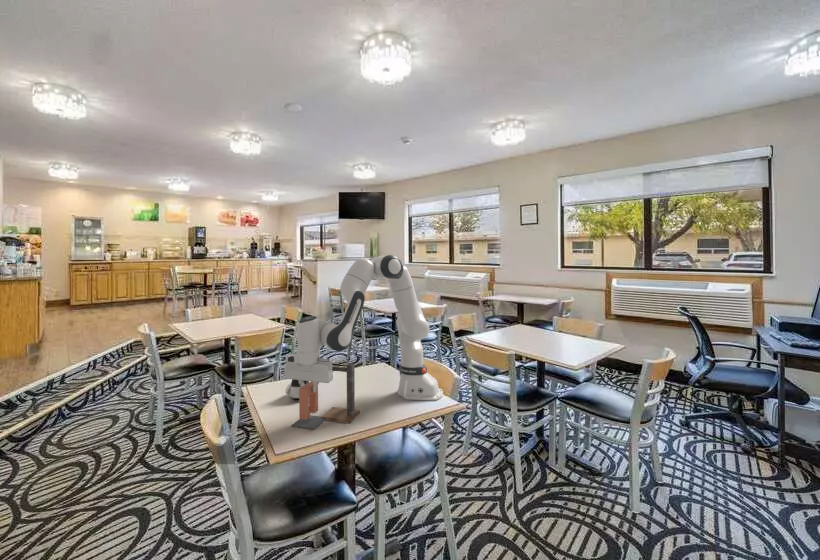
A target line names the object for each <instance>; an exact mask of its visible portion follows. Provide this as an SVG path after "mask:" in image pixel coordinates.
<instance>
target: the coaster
mask: <svg viewBox="0 0 820 560" xmlns="http://www.w3.org/2000/svg"><path fill="white" fill-rule="evenodd" d="M325 421H326V420H325V418H321V416H319V415H311V414H310V417H309V418H308V419H306V420H305V419H298V420H296V421H295V422H294V423H292V424H291V427H292V428H299V429H306V430H312V431H315V429H317V428H318V427H319V426H321V424H323V422H325Z"/></svg>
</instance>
